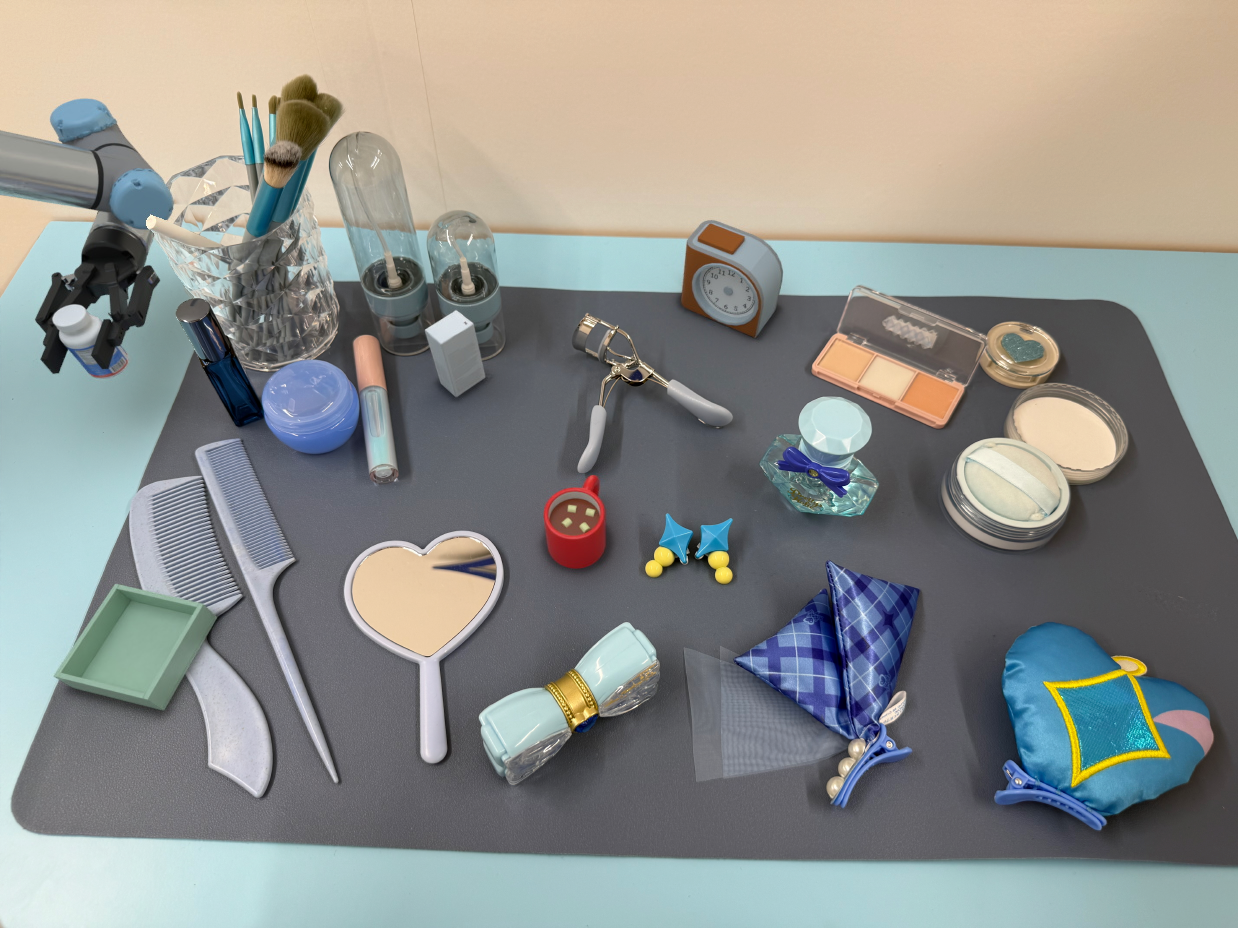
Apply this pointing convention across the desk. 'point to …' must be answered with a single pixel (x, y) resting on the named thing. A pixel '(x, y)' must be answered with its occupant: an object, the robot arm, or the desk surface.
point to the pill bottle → (86, 340)
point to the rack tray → (137, 646)
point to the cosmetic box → (455, 353)
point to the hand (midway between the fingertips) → (74, 364)
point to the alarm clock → (731, 277)
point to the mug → (576, 525)
